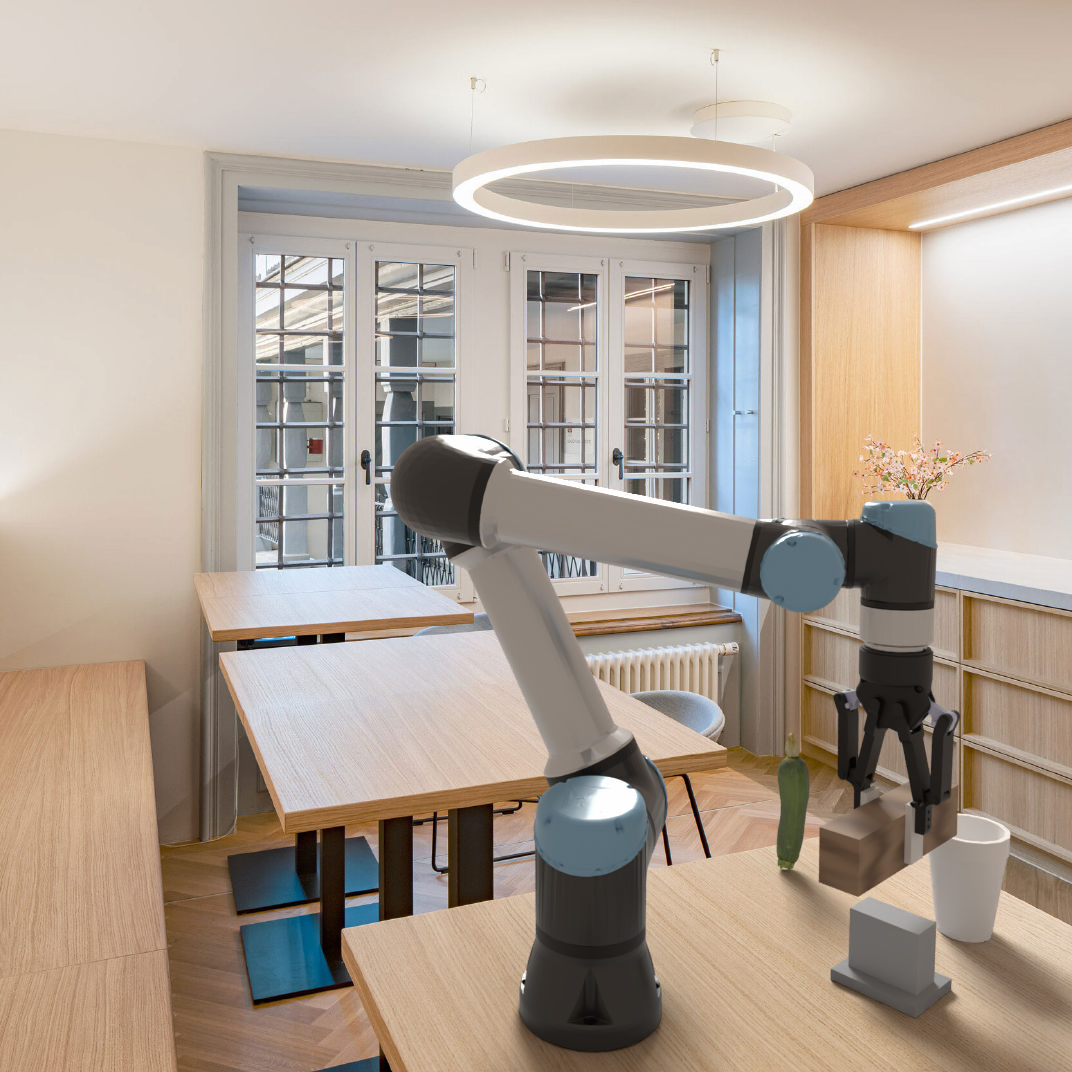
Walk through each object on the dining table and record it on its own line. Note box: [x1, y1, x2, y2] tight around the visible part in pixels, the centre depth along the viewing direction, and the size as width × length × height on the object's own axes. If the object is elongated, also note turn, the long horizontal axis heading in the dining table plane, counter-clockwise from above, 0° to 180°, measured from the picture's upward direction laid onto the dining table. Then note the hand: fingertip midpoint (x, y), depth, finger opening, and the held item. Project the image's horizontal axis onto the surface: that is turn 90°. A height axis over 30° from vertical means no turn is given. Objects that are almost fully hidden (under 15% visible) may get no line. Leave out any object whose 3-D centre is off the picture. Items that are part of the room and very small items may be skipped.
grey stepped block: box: [830, 896, 953, 1019], centre depth 107 cm, size 8×10×8 cm
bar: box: [818, 781, 959, 898], centre depth 106 cm, size 22×4×6 cm, turn 132°
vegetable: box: [776, 732, 810, 870], centre depth 135 cm, size 4×4×20 cm
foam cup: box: [928, 813, 1011, 944], centre depth 119 cm, size 10×9×13 cm
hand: (890, 852), depth 106 cm, fingers closed on bar, 4 cm apart
